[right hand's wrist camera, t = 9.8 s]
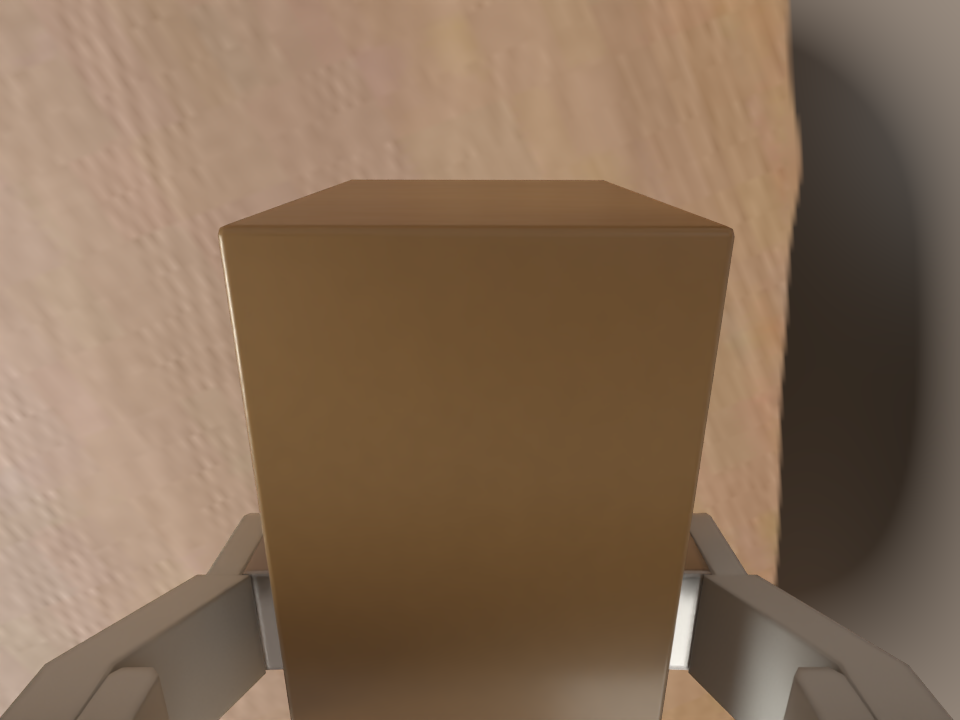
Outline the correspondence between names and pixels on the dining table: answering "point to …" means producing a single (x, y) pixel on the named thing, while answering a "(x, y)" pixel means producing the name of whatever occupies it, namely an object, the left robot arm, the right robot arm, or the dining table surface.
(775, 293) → the dining table surface
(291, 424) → the bar
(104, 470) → the dining table surface
